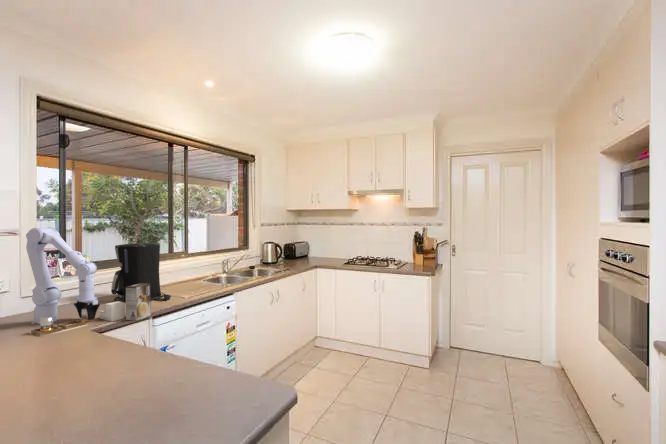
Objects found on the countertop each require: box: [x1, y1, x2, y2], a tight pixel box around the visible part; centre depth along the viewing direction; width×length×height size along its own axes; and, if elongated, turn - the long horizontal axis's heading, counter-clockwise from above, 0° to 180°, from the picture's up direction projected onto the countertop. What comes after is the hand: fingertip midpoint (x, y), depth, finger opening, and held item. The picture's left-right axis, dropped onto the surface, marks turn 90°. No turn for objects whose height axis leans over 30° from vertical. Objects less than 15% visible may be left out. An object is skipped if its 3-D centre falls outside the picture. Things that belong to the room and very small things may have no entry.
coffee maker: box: [110, 242, 172, 303], centre depth 203 cm, size 23×32×34 cm
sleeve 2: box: [81, 308, 92, 323], centre depth 155 cm, size 4×4×6 cm
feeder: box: [98, 301, 126, 322], centre depth 160 cm, size 11×6×8 cm, turn 63°
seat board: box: [29, 319, 88, 338], centre depth 143 cm, size 11×17×2 cm, turn 153°
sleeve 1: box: [39, 316, 54, 332], centre depth 139 cm, size 4×4×6 cm
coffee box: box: [125, 283, 152, 321], centre depth 162 cm, size 9×6×16 cm
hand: (87, 318), depth 155 cm, fingers open, 7 cm apart
